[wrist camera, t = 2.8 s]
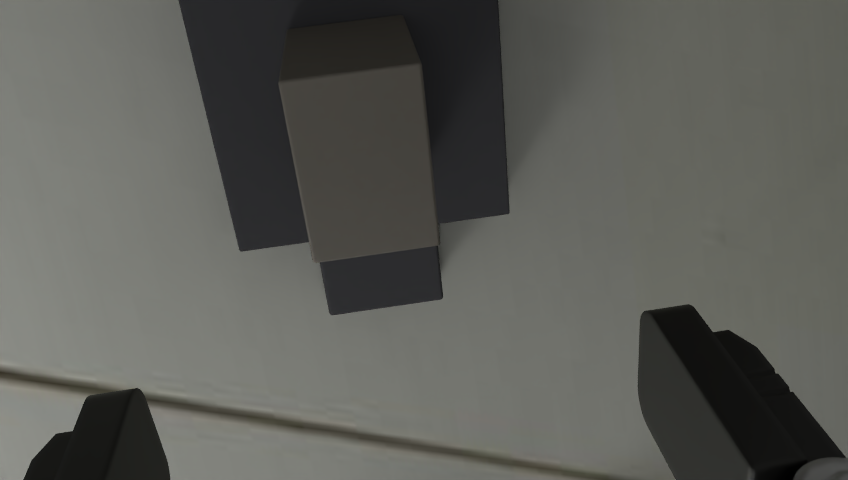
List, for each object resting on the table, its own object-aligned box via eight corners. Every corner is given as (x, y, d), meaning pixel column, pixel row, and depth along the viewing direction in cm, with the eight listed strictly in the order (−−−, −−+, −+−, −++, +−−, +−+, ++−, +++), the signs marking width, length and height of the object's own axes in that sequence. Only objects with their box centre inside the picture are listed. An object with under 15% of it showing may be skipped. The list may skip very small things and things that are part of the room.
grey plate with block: (484, -79, 24) (536, -41, 18) (505, 268, 30) (548, 378, 24) (179, -41, 23) (132, 9, 18) (260, 303, 29) (246, 424, 23)
